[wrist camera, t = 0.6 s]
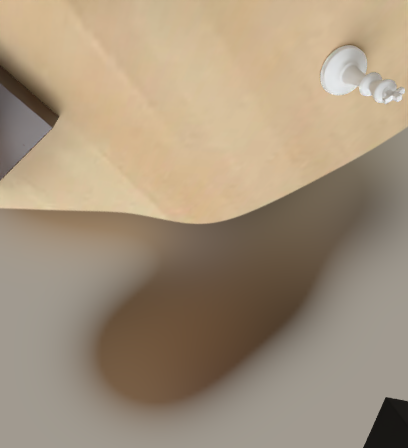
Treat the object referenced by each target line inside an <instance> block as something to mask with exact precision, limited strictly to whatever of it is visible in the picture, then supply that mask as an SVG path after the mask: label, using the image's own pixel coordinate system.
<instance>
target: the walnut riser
mask: <svg viewBox="0 0 408 448" xmlns="http://www.w3.org/2000/svg"><path fill="white" fill-rule="evenodd" d="M58 118H59V116H57V115H56V114H55V113H54V112H53V111H52V110H51V109H49V108H48V107H47V106H46V105H45V104H44V103H43V102H41V101H40V100H39V99H38V98H37V97H36V96H35V95H33V94H32V93H31V92H30V91H29V90H28V89H27V88H25V87H24V86H23V85H22V84H21V83H20V82H19V81H17V80H16V79H15V78H14V77H13V76H12V75H11V74H9V73H8V72H7V71H6V70H5V69H4V68H3V67H1V66H0V180H1V179H2V178H3V177H4V176H5V175H6V174H7V173H8V172H9V171H10V170H11V169H12V168H13V167H14V166H15V165H16V164H17V163H18V162H19V161H20V160H21V159H22V158H23V157H24V156H25V155H26V154H27V153H28V152H29V151H30V150H31V149H32V148H33V147H34V146H35V145H36V144H37V143H38V142H39V141H40V140H41V139H42V138H43V137H44V136H45V135H46V134H47V133H48V132H49V131H50V130H51V129H52V128H53V127H54V125H55V123H56V122H57V120H58Z"/></svg>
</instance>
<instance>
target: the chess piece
mask: <svg viewBox="0 0 408 448" xmlns="http://www.w3.org/2000/svg"><path fill="white" fill-rule="evenodd" d="M366 70H367V59H366V56H365V54H364V52H363V51H362V50H360V49H359V48H358V47H356V46H353V45H346V46H342V47H340V48H338V49H336V50H335V51H333V52H332V53H331V54H330V55H329V56H328V58H327V59H326V60H325V62H324V64H323V66H322V69H321V74H320V80H321V84H322V87H323V88H324V90H325V91H326V92H328V93H330V94H333V95H344V94H347V93H349V92H351V91H353V90H354V89H355V88H356V87H357V86H359V91H360V93H361V94H362V95H363V96H371V95H372V96H373V98H374V100H375V101H376V102H378V103H385V104H387V103H389V102H390V101H392V100H394V101H396V102H398V101H400V100H402V94H403V93H405V90H404V88H403V87H400V88H398V89H396V83H395V82H394V81H393V80H391V79H385V80H382V77H381V76H380V74H379V73H376V72H372V73H369V74H367V75H366V74H365V73H366Z"/></svg>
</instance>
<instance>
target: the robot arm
mask: <svg viewBox="0 0 408 448" xmlns="http://www.w3.org/2000/svg"><path fill="white" fill-rule="evenodd" d="M363 448H408V401H404V400H398V399H392V398H387V397H386V398H385V400H384V402H383V404H382V407H381V409H380V411H379V413H378V416H377V418H376V421H375V422H374V425H373V427H372V429H371V432H370V434H369V436H368V438H367V441H366V443H365V445H364V447H363Z"/></svg>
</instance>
